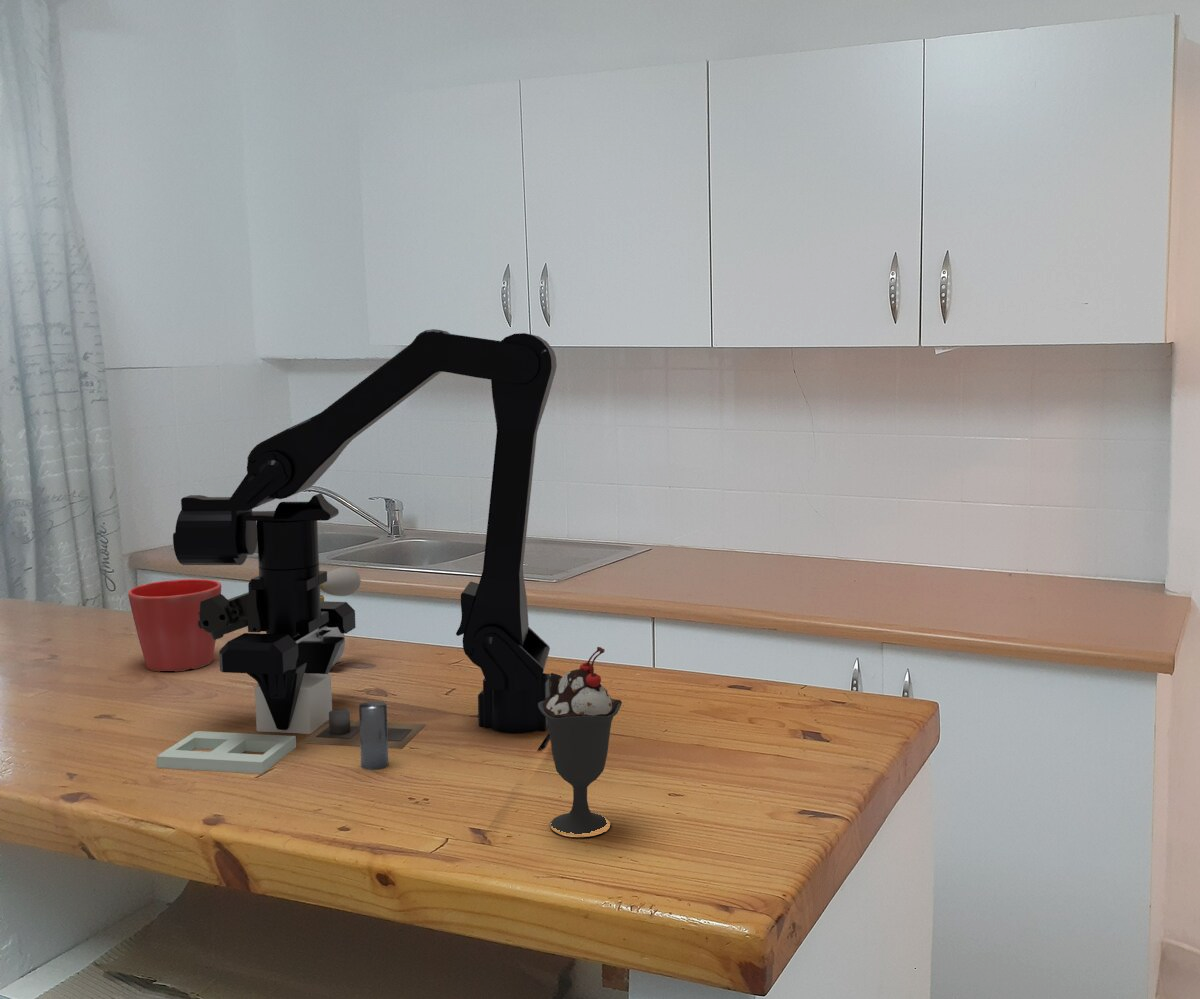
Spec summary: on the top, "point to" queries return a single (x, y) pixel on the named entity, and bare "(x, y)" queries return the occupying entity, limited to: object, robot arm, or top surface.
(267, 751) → the board
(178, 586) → the flower pot
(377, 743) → the peg
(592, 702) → the sundae
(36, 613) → the top surface
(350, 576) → the perfume bottle
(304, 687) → the white rectangular block
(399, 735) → the board
